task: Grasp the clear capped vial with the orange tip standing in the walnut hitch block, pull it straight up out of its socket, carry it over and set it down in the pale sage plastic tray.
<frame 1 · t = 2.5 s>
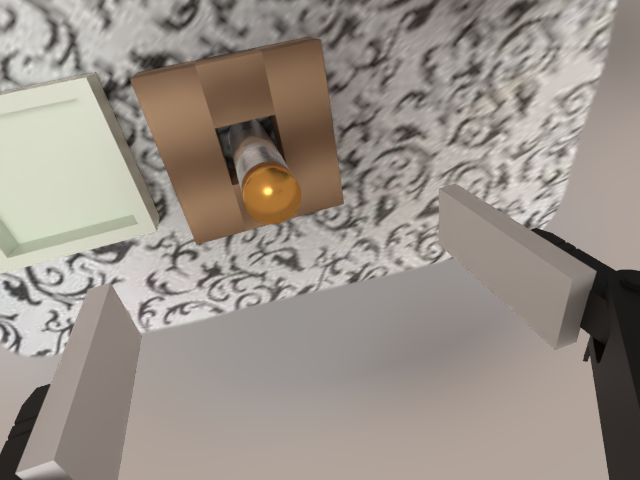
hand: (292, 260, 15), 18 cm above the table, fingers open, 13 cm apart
hitch block: (247, 138, 30), on the table
tray: (52, 170, 27), on the table
clear capped vial: (257, 162, 25), in the hitch block
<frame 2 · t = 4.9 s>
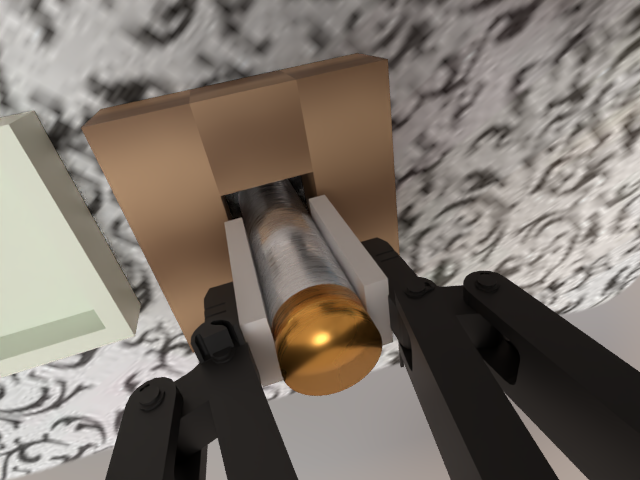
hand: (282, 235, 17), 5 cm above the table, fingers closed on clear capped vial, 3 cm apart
hitch block: (266, 195, 21), on the table
clear capped vial: (289, 251, 16), in the hitch block, touching gripper
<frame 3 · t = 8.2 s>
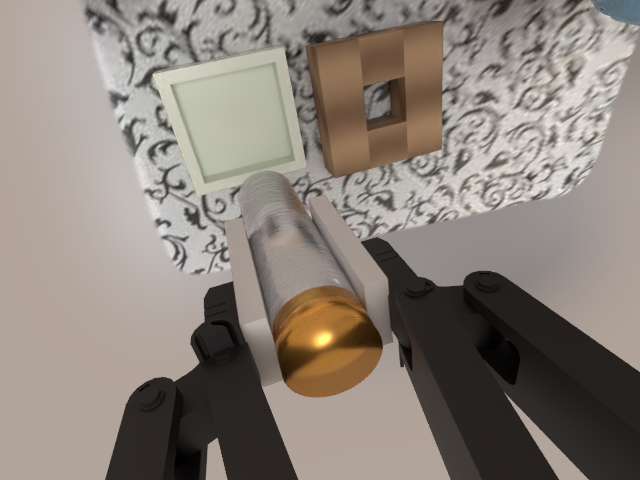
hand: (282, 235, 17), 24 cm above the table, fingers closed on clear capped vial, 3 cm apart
hitch block: (371, 98, 39), on the table
tray: (235, 119, 37), on the table
clear capped vial: (289, 252, 16), point 25 cm above the table, touching gripper
when the fingers open (6 cm above the table, at t = 11.8 s): clear capped vial stays where it is, resting on tray.
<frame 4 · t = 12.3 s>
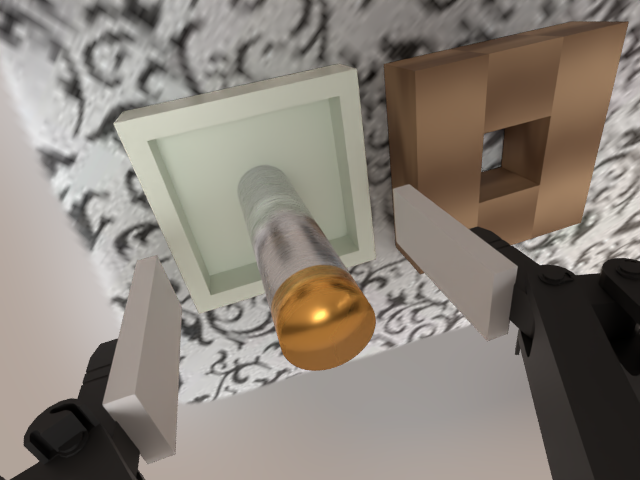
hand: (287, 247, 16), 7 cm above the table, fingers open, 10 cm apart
hitch block: (475, 144, 25), on the table
tray: (262, 186, 22), on the table
clear capped vial: (287, 240, 16), in the tray, point 7 cm above the table
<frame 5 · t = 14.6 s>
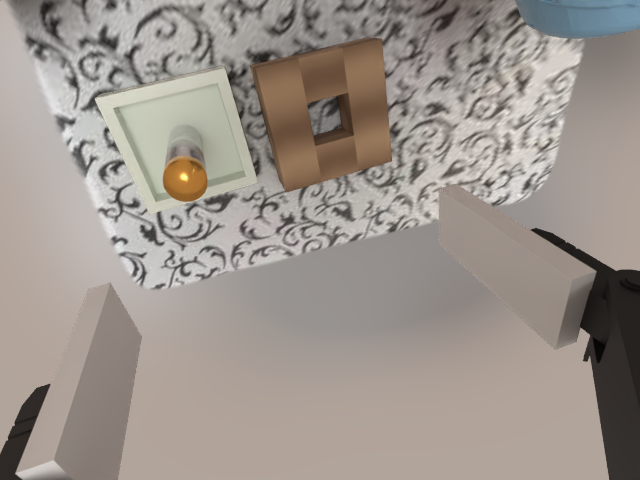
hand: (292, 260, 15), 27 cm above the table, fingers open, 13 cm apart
hitch block: (320, 113, 40), on the table
tray: (185, 138, 37), on the table
clear capped vial: (185, 158, 32), in the tray, point 7 cm above the table
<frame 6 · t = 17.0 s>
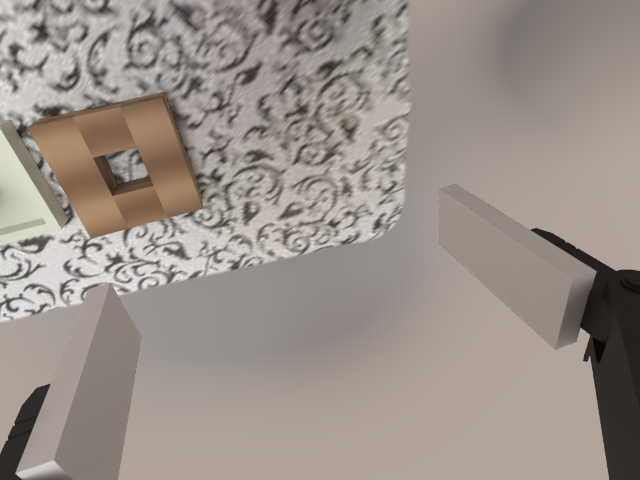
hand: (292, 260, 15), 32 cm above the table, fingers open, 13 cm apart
hitch block: (129, 161, 41), on the table
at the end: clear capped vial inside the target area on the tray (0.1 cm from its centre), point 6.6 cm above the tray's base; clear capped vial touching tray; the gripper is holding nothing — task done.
